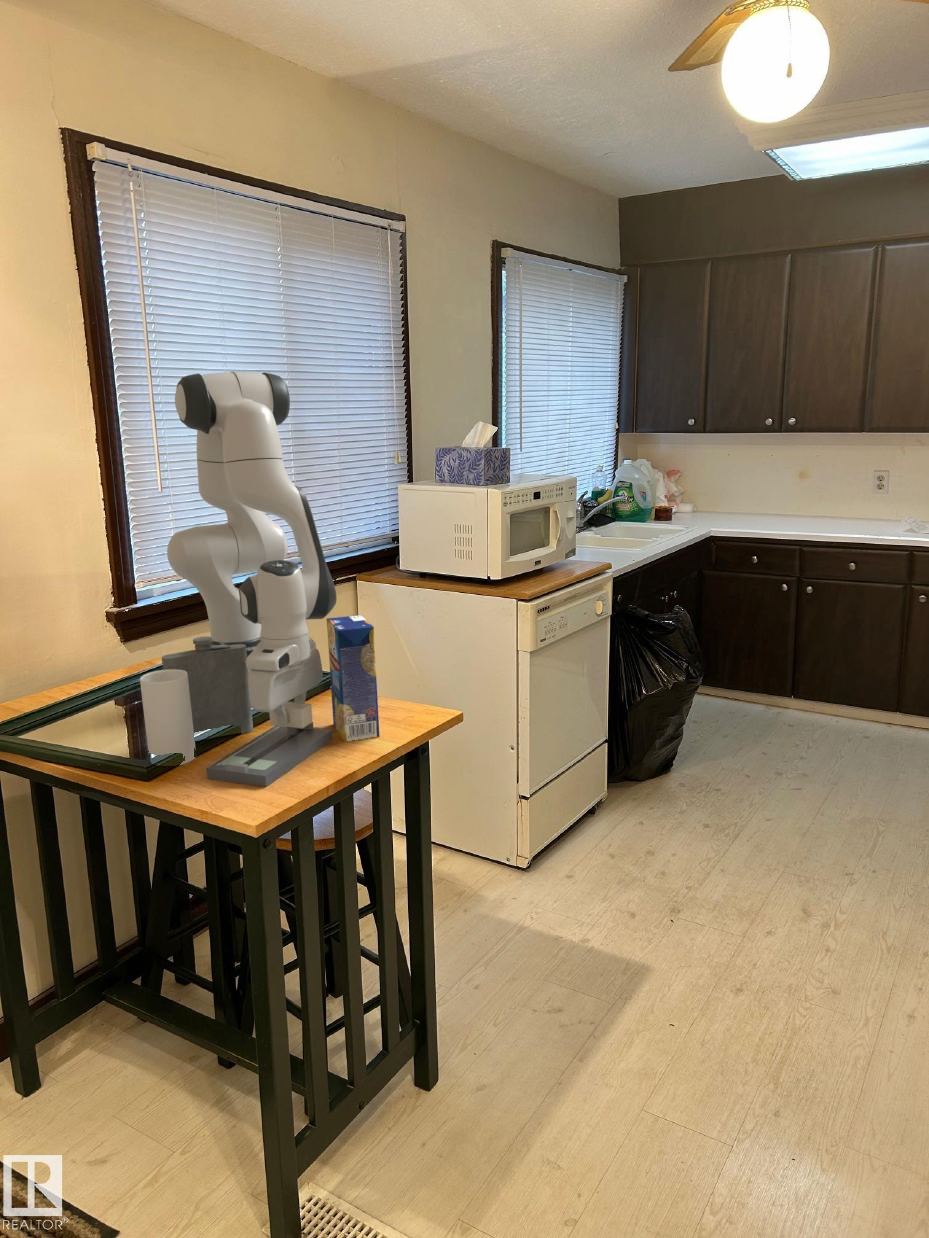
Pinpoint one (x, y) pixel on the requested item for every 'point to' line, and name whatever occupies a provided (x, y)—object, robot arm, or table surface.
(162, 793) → the table surface
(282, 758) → the fader console
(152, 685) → the cup
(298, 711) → the fader knob
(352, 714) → the beverage box
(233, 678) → the hip flask
